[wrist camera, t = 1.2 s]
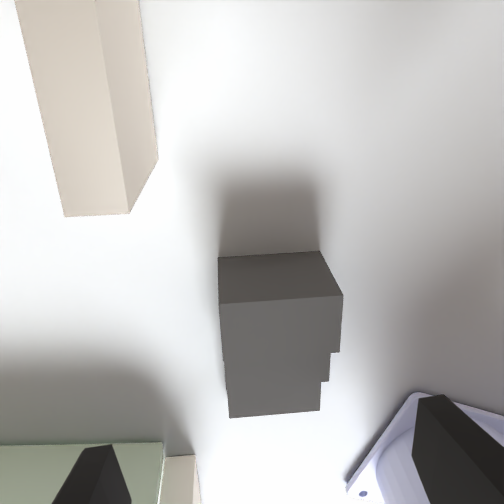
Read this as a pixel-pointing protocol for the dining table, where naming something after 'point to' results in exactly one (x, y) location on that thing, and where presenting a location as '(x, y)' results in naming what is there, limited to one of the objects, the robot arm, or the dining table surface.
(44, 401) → the dining table surface
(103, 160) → the rectangular block
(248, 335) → the grey stepped block
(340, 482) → the dining table surface
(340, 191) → the dining table surface
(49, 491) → the door
